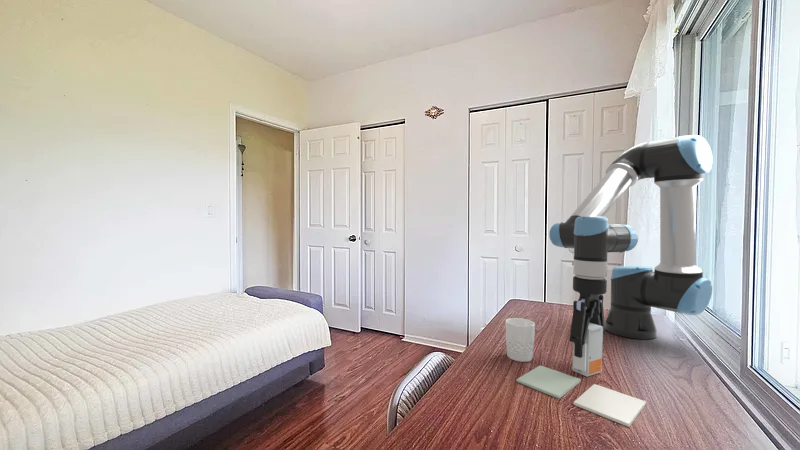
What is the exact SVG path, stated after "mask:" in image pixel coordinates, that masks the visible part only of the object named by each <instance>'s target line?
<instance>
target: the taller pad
mask: <svg viewBox="0 0 800 450" xmlns="http://www.w3.org/2000/svg"><path fill="white" fill-rule="evenodd" d="M573 405H574V406H576V407H578V408H581V409H584V410H586V411H588V412H591V413H594V414H595V415H598V416H601V417H603V418H606V419H608V420H610V421H613V422H616V423H619V424H620V425H623V426H626V427H628V428H630V427H631V426H632V424H633V423H634V422H635V420H636V419H637V417H638V416H639V415H640V413H641V412H642V410H643V409H644V408H645V407H646V405H647V402H646V401H645V400H643V399H640V398H637V397H634V396H631V395H628V394H625V393H622V392H619V391H616V390H614V389H611V388H608V387H604V386H601V385H599V384H597V383H596V384H595V383H593V384H592V385H591V386H590V387H589V388H588V389H587V390H586V391H584V392H583V393H582V394H581V395H579V397H578V398H576V399H575V400H574V401H573Z"/></svg>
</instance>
